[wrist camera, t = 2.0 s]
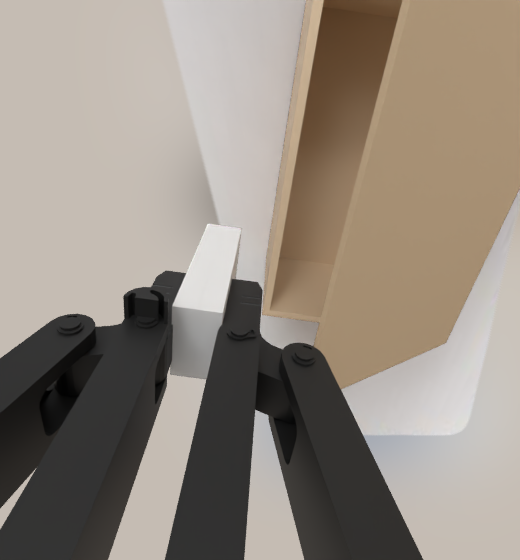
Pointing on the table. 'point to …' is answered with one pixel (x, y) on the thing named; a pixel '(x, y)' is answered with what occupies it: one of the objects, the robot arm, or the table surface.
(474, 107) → the carton lid
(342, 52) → the carton
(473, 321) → the table surface
